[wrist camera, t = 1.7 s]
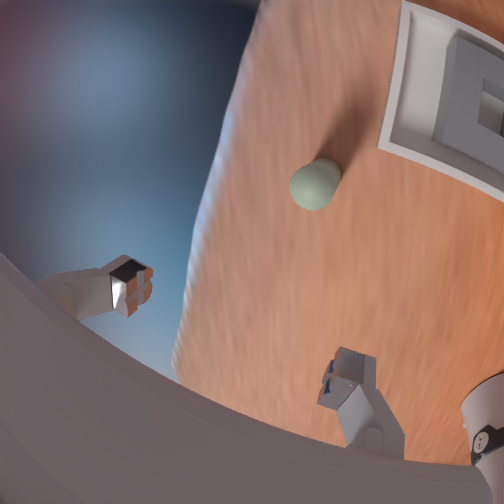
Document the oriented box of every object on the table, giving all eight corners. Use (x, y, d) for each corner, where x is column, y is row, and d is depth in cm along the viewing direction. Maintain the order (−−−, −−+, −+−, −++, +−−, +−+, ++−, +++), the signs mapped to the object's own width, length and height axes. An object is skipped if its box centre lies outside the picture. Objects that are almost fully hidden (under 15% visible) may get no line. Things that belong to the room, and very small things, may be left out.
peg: (344, 163, 31) (338, 173, 23) (336, 195, 33) (327, 215, 25) (311, 153, 32) (294, 161, 24) (304, 185, 34) (285, 202, 26)
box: (555, 95, 14) (576, 94, 10) (530, 217, 23) (550, 231, 18) (398, 12, 20) (403, -6, 16) (375, 146, 29) (378, 148, 24)
